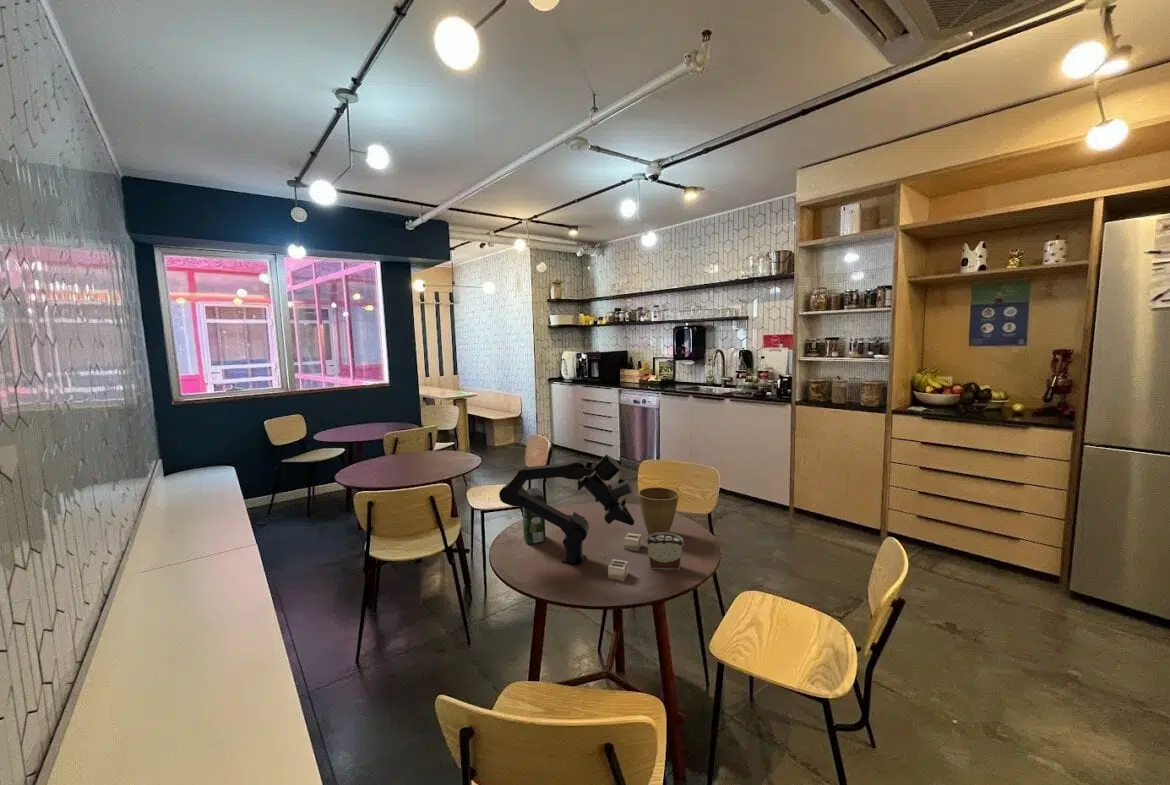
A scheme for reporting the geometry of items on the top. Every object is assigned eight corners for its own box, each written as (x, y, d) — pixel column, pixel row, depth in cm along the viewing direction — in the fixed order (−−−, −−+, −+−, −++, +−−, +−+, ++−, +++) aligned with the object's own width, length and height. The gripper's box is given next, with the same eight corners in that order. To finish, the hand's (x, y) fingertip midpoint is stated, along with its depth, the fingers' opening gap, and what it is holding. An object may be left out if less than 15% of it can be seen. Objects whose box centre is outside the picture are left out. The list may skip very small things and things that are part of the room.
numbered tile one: (638, 551, 164) (638, 540, 163) (624, 549, 165) (624, 538, 165) (641, 545, 168) (641, 534, 168) (627, 543, 170) (627, 532, 169)
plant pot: (685, 539, 173) (686, 497, 171) (648, 544, 168) (648, 501, 166) (667, 524, 187) (667, 485, 185) (632, 528, 183) (632, 488, 181)
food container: (682, 560, 156) (682, 532, 155) (684, 569, 150) (684, 540, 149) (644, 559, 157) (645, 530, 156) (645, 568, 151) (645, 538, 150)
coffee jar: (522, 535, 178) (520, 487, 176) (543, 532, 180) (541, 485, 177) (525, 546, 168) (523, 495, 166) (547, 543, 170) (546, 494, 168)
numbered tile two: (623, 581, 144) (623, 568, 143) (608, 578, 145) (608, 565, 145) (628, 573, 148) (628, 561, 148) (612, 571, 150) (612, 558, 150)
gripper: (615, 482, 143) (651, 518, 143) (618, 465, 161) (650, 497, 161) (589, 506, 145) (625, 542, 145) (595, 486, 163) (627, 518, 163)
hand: (633, 523), depth 153 cm, fingers closed
